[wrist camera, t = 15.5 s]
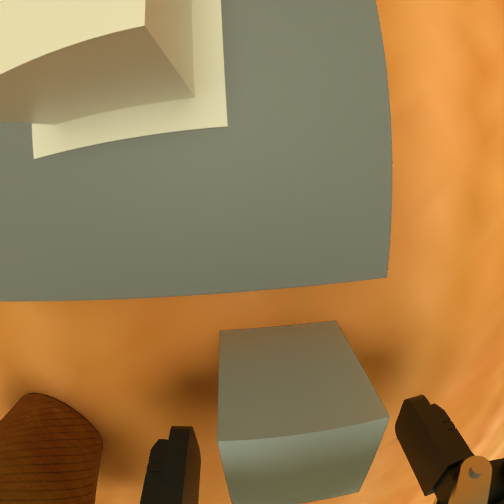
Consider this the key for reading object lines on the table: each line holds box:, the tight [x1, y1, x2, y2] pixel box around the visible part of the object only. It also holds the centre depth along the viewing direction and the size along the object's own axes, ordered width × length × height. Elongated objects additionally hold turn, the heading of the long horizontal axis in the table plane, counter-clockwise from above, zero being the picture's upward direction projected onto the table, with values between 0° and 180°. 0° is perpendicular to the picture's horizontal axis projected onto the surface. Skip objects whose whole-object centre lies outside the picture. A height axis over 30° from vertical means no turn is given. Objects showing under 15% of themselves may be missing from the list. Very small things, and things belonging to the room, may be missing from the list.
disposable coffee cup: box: [0, 393, 103, 504], centre depth 9 cm, size 10×10×12 cm
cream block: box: [0, 0, 195, 125], centre depth 5 cm, size 5×5×6 cm
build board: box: [0, 0, 392, 301], centre depth 9 cm, size 18×18×2 cm
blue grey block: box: [217, 321, 390, 504], centre depth 11 cm, size 5×5×6 cm
